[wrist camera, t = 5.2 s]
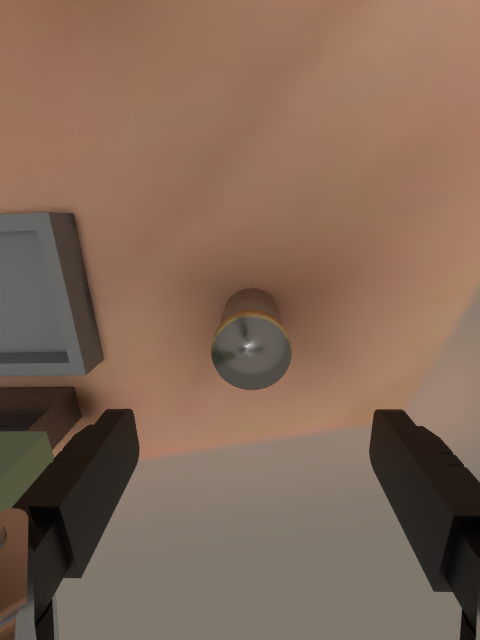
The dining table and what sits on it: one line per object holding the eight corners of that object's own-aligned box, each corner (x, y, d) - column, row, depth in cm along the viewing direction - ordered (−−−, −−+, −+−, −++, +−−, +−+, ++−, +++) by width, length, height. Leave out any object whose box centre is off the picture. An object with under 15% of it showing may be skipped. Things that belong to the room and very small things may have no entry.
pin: (222, 287, 21) (207, 317, 14) (280, 286, 20) (293, 315, 14) (224, 341, 22) (213, 391, 15) (279, 340, 22) (291, 391, 15)
